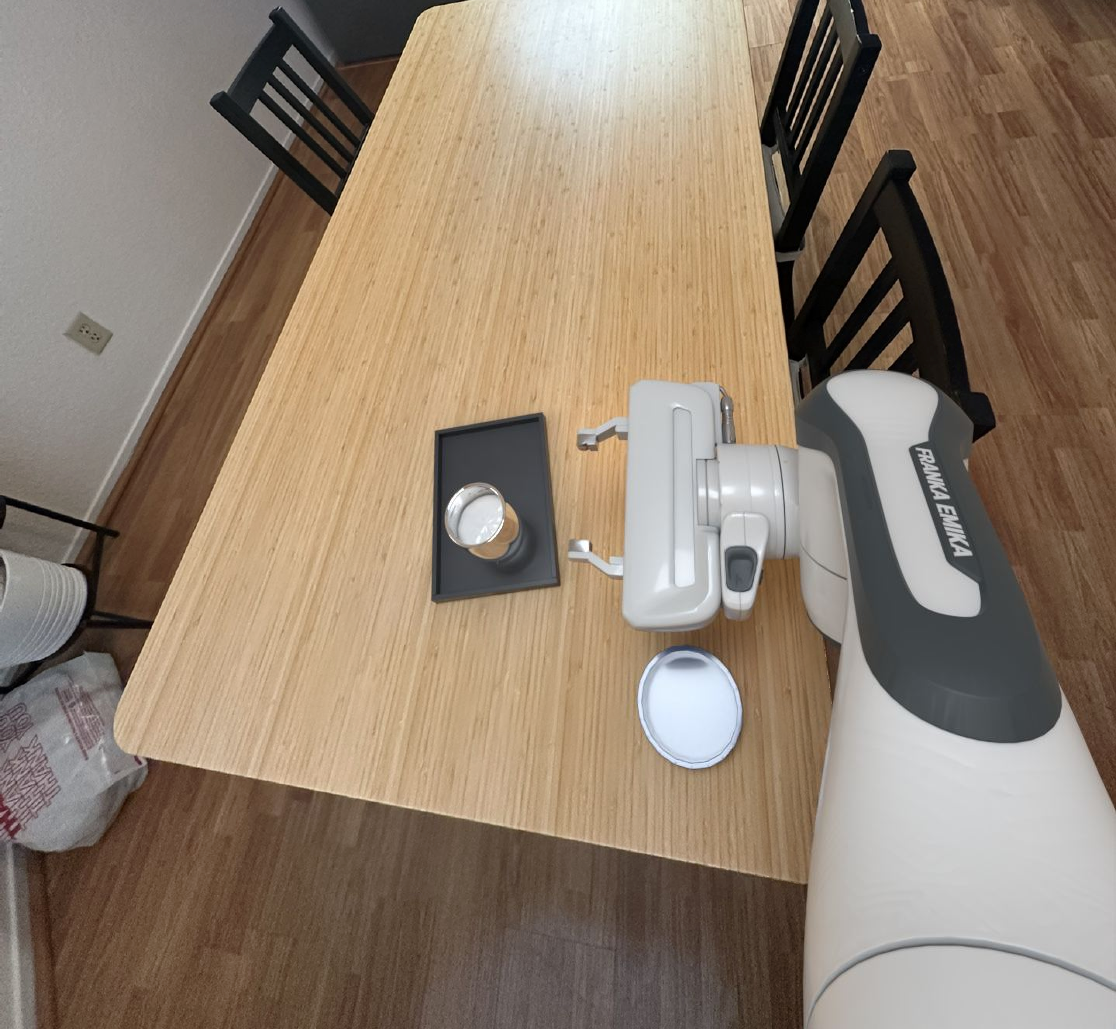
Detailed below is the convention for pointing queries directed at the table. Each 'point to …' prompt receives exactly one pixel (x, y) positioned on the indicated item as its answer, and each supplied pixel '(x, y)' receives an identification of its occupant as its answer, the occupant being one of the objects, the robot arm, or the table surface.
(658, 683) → the bowl
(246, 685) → the table surface
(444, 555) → the tray
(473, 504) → the silver goblet
